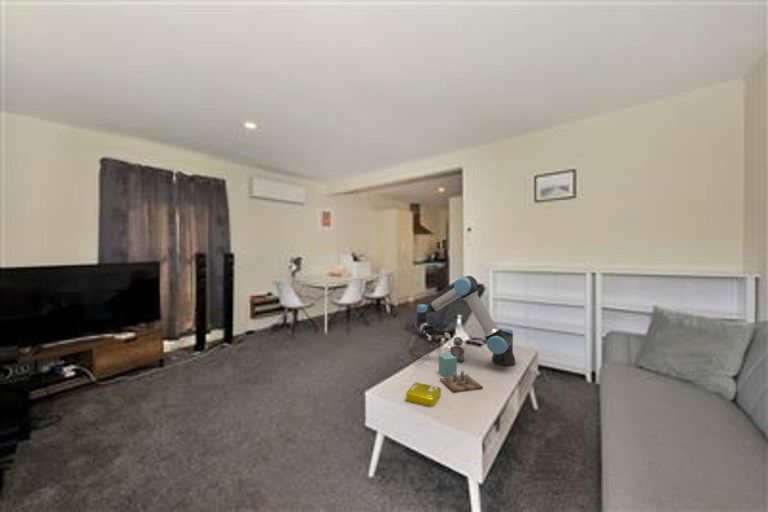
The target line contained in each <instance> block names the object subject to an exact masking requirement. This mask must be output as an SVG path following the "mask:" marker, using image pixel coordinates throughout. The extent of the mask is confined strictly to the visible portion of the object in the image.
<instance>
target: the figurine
mask: <svg viewBox="0 0 768 512" xmlns="http://www.w3.org/2000/svg"><path fill="white" fill-rule="evenodd" d="M463 343H464V341H463V338H461V337H460V336H456V337H454V339H453V345H451V347H450V349H449V350H450V351H449V354H452V355H453V356H455V357H456V358H457V359H460V363H462V364H463V363H464V361H465V355H464V354H465V350H464V347H462V345H463Z"/></svg>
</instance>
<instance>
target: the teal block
mask: <svg viewBox="0 0 768 512" xmlns="http://www.w3.org/2000/svg"><path fill="white" fill-rule="evenodd" d="M457 359H458V358H456V357H455V356H453V355H452V354H450V353H447V354H444V353H443V354H438V374H440V375H442V377H443V378H447V377H453V372H456V376H457V374H458V372H457V371H458V365H457V364H458V360H457Z"/></svg>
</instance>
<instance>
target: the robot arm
mask: <svg viewBox="0 0 768 512" xmlns="http://www.w3.org/2000/svg"><path fill="white" fill-rule="evenodd" d="M453 284H454V285H453V288H451V289H450V290H449V291H447V292H446V293H444V294H443V295H441V296H440V297H438V298H436V299H434V301H431V302H430V303H428V304H422V303H421V304H418V305H417V306H416V320H415V322H414V326H415V328H416V329H417V330H418V331H419V332H420V338H422V339H424V340H425V339H426V340H428V341H432V336H434V335H435V336H438V335H439V336H443V337H445V338H446V339H448V340H451V334H450V331H447V330H443V329H439V328H437V329H436V328H435V329H434V327H433V325H431V324H429V323H428V316H430V315H434V314H435V313H436V312H438V311H439V310H441V309H442V308H444V307H445V306H447V305H449V304H450V303H452V302H453V301H455V300H457V299H458V298H460V297H461V299H462V300H463V301H465V302H466V303H467V305H468V307H469V308H470V310H471V311H472V313H473V315H474V317H475V319H476V320H477V322H478V323H479V326H480V327H481V329H482V330H483V332H484V338H485V340H486V346H487V349H488V351H490V352H491V353H492V356H491V362H492V363H493V364H494V365H495V364H496V365H497V366H498V365H499V366H503V367H508V366H509V367H511V366H515V365H516V358H515V355H514V350H513V349H514V348H513V347H514V345H513V344H514V330H512V329H510V328H505V327H497V325H496V323H495V321H494V319H493V318H492V317H491V315H490V313H489V312H488V310H487V308H486V306H485V305H484V303H483V301H482V300H481V298H480V296H479V294H478V293H479V290H478V281H477V279H476V278H475V277H474V276H471V275H466V276H461V277H459V278H457V279H456V280H455V281H454V283H453Z"/></svg>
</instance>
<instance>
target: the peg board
mask: <svg viewBox="0 0 768 512" xmlns="http://www.w3.org/2000/svg"><path fill="white" fill-rule="evenodd" d="M439 381H440V382H441V383H442V384H443V385H444V386H445V387H446V388H447V389H448V390H449V391H450V392H452V393H453V394H455V393H456V394H457V393H463V392H469V391H470V392H471V391H476V390H477V391H479V390H483V385H482V384H481V383H479V382H478V381H476V380H475V379H474V378H472V377H471V376H470V375H469V373H465V371H464V370H461V371H460V374H458V375H457V376H456V372H453V376H452V377H440V378H439Z"/></svg>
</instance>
